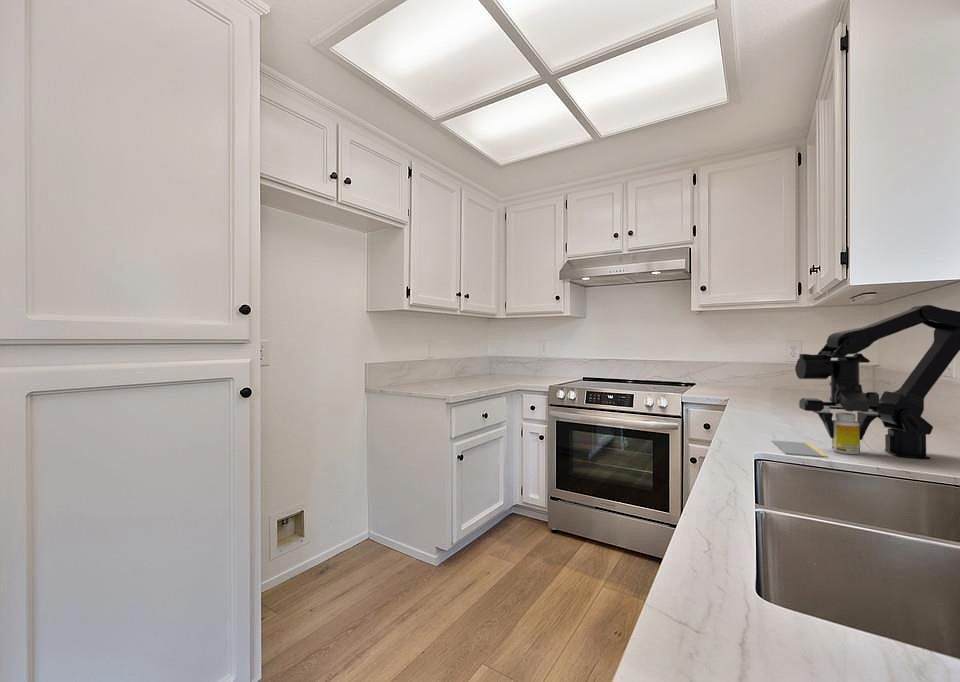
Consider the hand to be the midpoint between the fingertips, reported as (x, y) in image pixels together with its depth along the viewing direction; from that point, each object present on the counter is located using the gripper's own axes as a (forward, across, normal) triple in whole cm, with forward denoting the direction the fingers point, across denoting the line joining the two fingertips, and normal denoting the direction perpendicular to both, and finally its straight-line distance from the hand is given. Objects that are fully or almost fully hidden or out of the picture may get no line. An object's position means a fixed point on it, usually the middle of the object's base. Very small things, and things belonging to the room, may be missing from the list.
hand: (845, 438), depth 111 cm
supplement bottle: (+4, 0, 0) cm, 4 cm away
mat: (+4, -11, 0) cm, 12 cm away
